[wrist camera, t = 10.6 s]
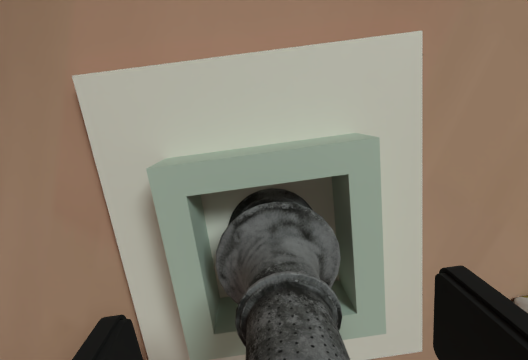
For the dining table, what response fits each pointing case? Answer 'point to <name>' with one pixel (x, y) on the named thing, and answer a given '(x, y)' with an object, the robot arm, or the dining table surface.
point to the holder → (265, 181)
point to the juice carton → (522, 302)
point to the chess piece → (282, 278)
